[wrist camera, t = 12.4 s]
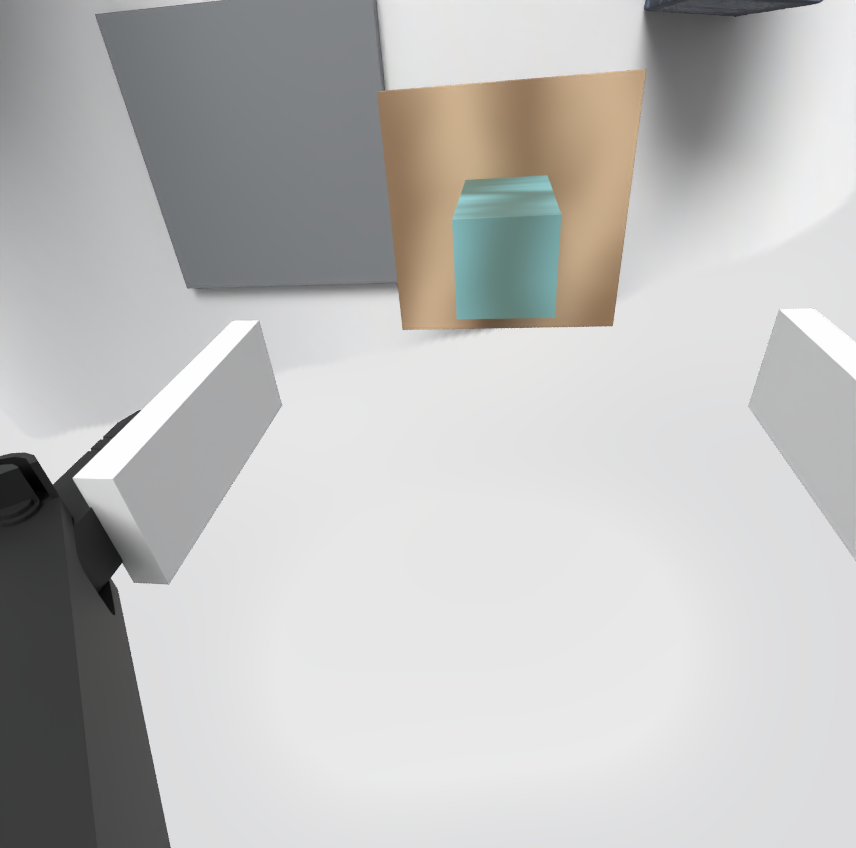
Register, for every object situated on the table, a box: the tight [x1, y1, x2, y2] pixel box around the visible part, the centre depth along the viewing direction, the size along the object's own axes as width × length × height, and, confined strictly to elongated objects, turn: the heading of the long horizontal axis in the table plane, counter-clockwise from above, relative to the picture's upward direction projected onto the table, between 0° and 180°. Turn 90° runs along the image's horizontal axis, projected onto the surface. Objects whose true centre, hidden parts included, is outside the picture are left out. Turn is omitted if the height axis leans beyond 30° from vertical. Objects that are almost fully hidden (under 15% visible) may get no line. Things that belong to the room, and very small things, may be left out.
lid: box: [377, 69, 646, 330], centre depth 24 cm, size 12×12×9 cm
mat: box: [95, 0, 398, 289], centre depth 38 cm, size 18×18×1 cm
